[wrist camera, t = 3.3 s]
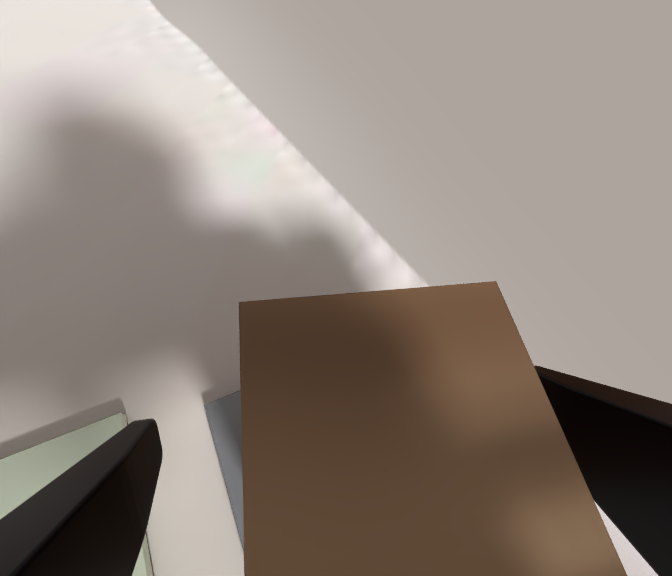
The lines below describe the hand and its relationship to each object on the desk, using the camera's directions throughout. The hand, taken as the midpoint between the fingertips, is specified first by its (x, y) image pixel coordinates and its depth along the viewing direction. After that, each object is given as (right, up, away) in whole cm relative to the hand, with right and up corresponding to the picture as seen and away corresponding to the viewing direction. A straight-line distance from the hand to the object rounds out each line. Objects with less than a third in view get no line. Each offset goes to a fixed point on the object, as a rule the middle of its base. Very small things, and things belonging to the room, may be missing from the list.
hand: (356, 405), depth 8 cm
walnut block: (-1, -4, +5) cm, 7 cm away
